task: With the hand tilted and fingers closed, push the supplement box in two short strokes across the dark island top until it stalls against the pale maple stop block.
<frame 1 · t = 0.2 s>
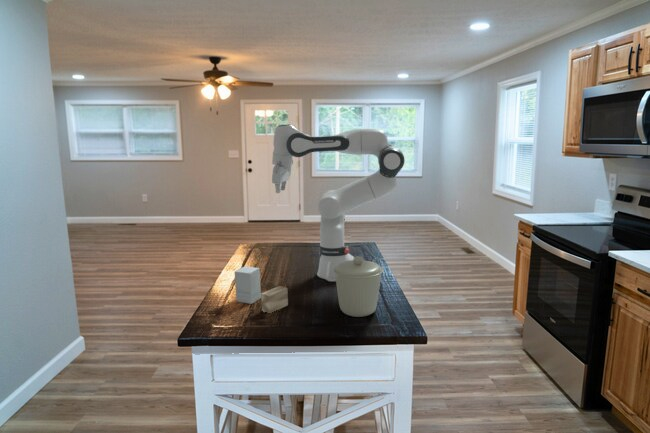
hand: (280, 191, 194), 39 cm above the kitchen island, tool pointing down, fingers open, 8 cm apart
supplement box: (248, 300, 171), on the kitchen island
canister: (357, 311, 158), on the kitchen island
stop block: (275, 308, 162), on the kitchen island
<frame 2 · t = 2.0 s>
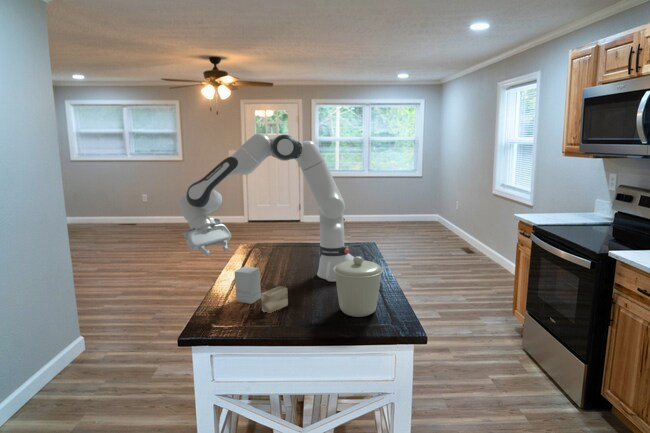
hand: (217, 252, 178), 16 cm above the kitchen island, tool tilted 45°, fingers open, 8 cm apart
nothing on the kitchen island moved.
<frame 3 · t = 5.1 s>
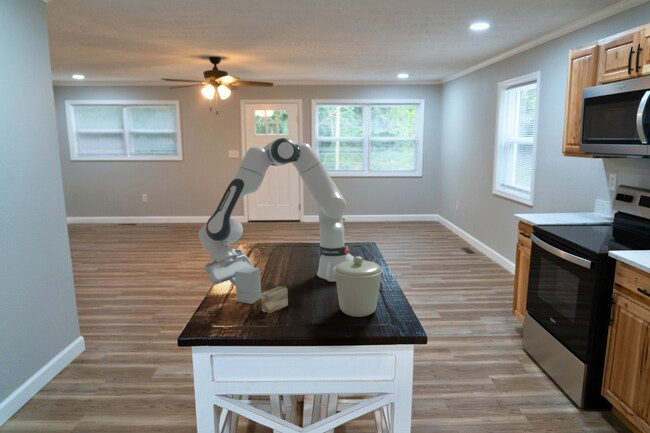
hand: (240, 285, 172), 5 cm above the kitchen island, tool tilted 45°, fingers closed
supplement box: (249, 300, 171), on the kitchen island, touching gripper
everything else where it was.
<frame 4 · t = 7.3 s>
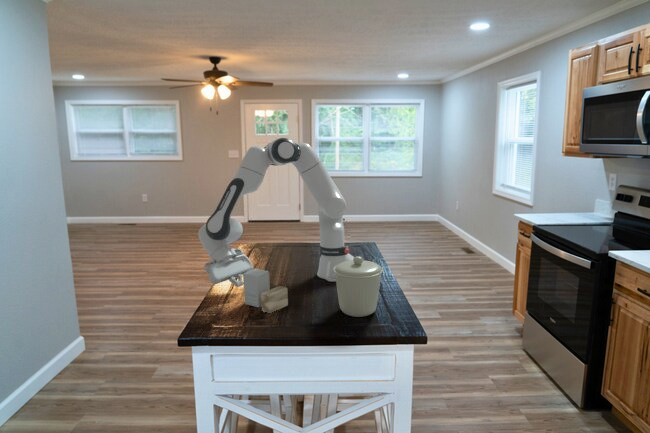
hand: (240, 285, 172), 5 cm above the kitchen island, tool tilted 45°, fingers closed
supplement box: (257, 303, 167), on the kitchen island
everything else where it was.
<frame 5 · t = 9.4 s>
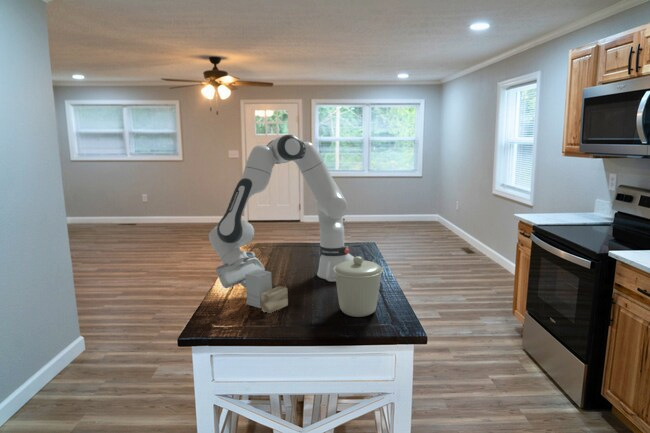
hand: (252, 289, 168), 5 cm above the kitchen island, tool tilted 45°, fingers closed, pressing on supplement box
supplement box: (259, 304, 167), on the kitchen island, touching gripper
everything else where it was.
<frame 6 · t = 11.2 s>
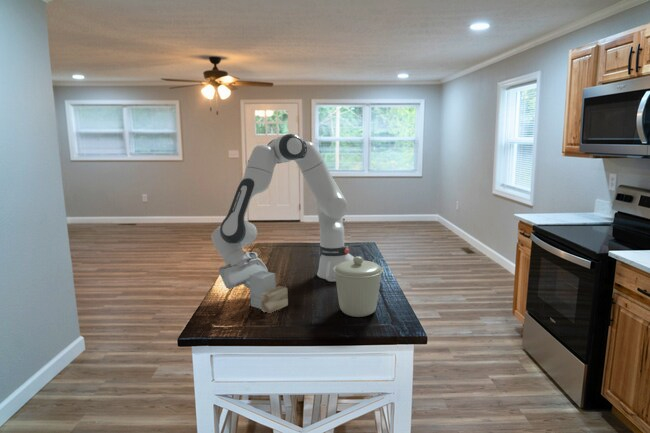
hand: (255, 290, 167), 5 cm above the kitchen island, tool tilted 45°, fingers closed
supplement box: (263, 305, 165), on the kitchen island
everything else where it was.
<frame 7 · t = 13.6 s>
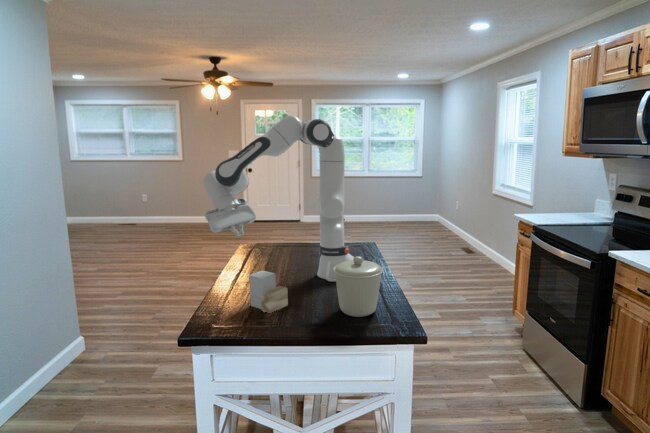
hand: (241, 235, 172), 25 cm above the kitchen island, tool tilted 40°, fingers closed
nothing on the kitchen island moved.
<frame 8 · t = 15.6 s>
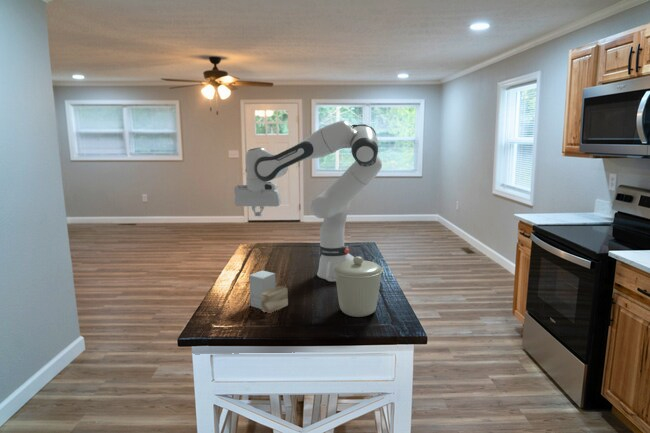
hand: (258, 216, 190), 29 cm above the kitchen island, tool pointing down, fingers closed
nothing on the kitchen island moved.
at the end: supplement box 5.7 cm from the stop block (horizontally); supplement box tilted 0°; supplement box moved 8.9 cm from its start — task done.
